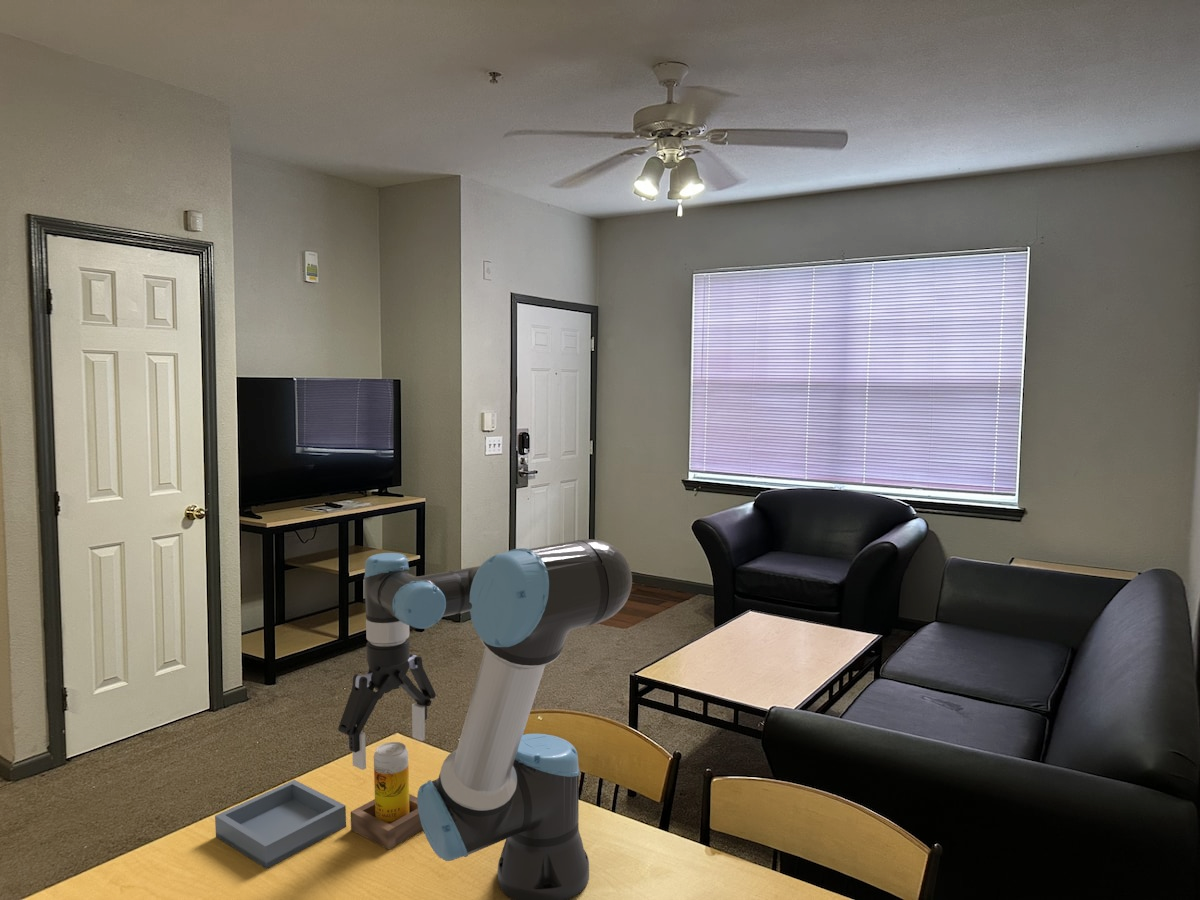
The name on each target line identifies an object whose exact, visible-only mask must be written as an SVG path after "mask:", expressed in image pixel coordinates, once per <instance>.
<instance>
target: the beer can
mask: <svg viewBox="0 0 1200 900" xmlns="http://www.w3.org/2000/svg"><path fill="white" fill-rule="evenodd" d="M373 771H374V772H373V773H374V774H373V778H374V799H375V817H376V818H378V819H380V820H382V821H384V822H386V823H388V824H391V823H393V822H394V821H396V820H398V819H400V818H402V817H403V816H405V815H407V814H409V794H410V779H409V778H410V776H409V771H410V770H409V751H408V749H407V746H406V744H405V743H402V742H399V741H389V742H385V743H382V744H380V745H378V746H377V747H376V749H375V752H374V755H373Z"/></svg>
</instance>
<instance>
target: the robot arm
mask: <svg viewBox="0 0 1200 900" xmlns="http://www.w3.org/2000/svg"><path fill="white" fill-rule="evenodd" d="M409 571H410V567H409V559H408V558H407V556H406V555H405V554H403V553H397V552H383V553H376V554H373V555H370V556H368V557H367V559H366V560H365V564H364V576H363V579H364V594H365V596H364V598H365V599H364V601H365V631H366V636H365V637H366V640H367V642H366V645H365V646H366V662H367V664H368V671H367V674H366V673H365V674H362V675H360V674H357V673H356V674H354V675H353V677H352V687H351V691H350V694H349V697H348V699H347V701H346V705H345V707H344V711H343V714H342V716H341V719H340V722H339V725H338V728H337V730H338V732H340V733H342V734H344V735H346V736H348V747H349V750H350V751H351V752H352V753H351V754H352V766H354V767H356V768H358V769H359V770H362V771H364V770H365V769H367V751H366V750H367V749H366V747H367V746H366V732H364V731H363V730H364V727H365V726H366V724H367V722H368V720H369V718H370V716H371V715H372V712H373V711H374V709H375V707H376V705H377V703H378V702H379V700H380V699H382V698H383V697H384V694H388V693H390V692H391V691H393V690H398V689H400V687H401V688H402V689H403V690H404V691H405V692H406V693H407V694H408V695H409V697H411V699H413V700H414V703H412V704H411V723H412V724H411V726H412V728H411V729H412V732H411V734H412V738H413V739H416V740H418V741H421V742H423V741H425V740H426V721H427V720H428V707H430V706H431V704H432V699H433V700H434V699H435V698H436V696H437V694H436V692H435V689H434V688H433V686H432V683H431V681H430V679H429V677H428V675H427V673H426V671H425V668H424V666H423V659H422V656H418V655H415V654H412V653H410V648H411V647H410V640H409V637H410V635H411V634H410V627H412V628H415V629H423V630H424V629H429V628H431V627H433V626H434V625H435V624H437V623H438V622H440V620H441V619H442V618H443V617H448V616H453V615H457V614H462V613H466V612H470V613H469V614H470V619H471V622H472V625H473V628H474V630H475V632H476V634H477V636H478V637H479V639H480V641H481V643H482V645H483V646H484V651H483V655H482V659H481V663H480V666H479V669H478V674H477V676H476V681H475V683H474V688H473V691H472V693H471V694H472V695H471V697H470V700H469V705H468V709H467V712H466V716H465V720H464V723H463V726H462V730H461V734H460V737H459V741H458V744H457V748H456V749H454V750H453V751H452V752H450V753H449V754H448V755H447V756H446V758H445V759H444V760H443V763H442V765H441V767H440V772H439V775H438V778H436V779H434V780H427V782H425V783H423V784H422V785H420V786H419V788H418V790H417V805H418V812H419V817H420V820H421V824H422V827H423V830H422V831H423V833H424V835H425V837H426V840H427V842H428V844H429V846H430V848H431V849H432V851H433V852H434V854H436V856H438V858H440V859H442V860H443V861H445V862H450V861H454V860H457V859H460V858H463V857H464V858H466V857H467V858H468V857H469V855H471V854H474V853H477V852H479V851H481V850H483V849H485V848H489V847H491V846H493V845H495V844H497V843H499V842H502V841H504V844H503V848H502V851H501V853H500V858H499V860H498V864H497V883H498V886H499V888H500V890H501V891H502V892H503V893H504V894H505V895H506V896H507V897H509V898H510V899H512V900H570V899H573V898H575V897H576V896H578V894H580V893H581V892H582V891H583V890H584V889H585V888H586V886H587V885H588V883H589V880H590V861H589V857H588V853H587V852H586V850H585V848H584V843H583V840H582V836H581V834H580V829H579V815H580V814H579V802H580V801H579V785H580V784H579V779H580V778H579V777H580V767H579V764H580V763H579V756H578V752H577V749H576V747H575V746H574V745H573V744H572V743H570V742H569V741H568V740H566V739H564V738H561V737H559V736H556V735H551V734H545V733H526V734H524V732H525V729H526V726H527V724H528V723H527V722H528V719H529V717H530V714H531V711H532V707H533V704H534V701H535V698H536V695H537V693H538V689H539V685H540V683H541V679H542V677H543V674H544V670H545V667H546V666H548V665H550V664H551V663H553V662H555V661H556V660H557V659H558V658H559V656H560V655H561V654H562V651H563V649H564V648H563V647H564V645H565V643H566V640H567V636H568V634H569V633H570V632H571V631H573V630H576V629H580V628H584V627H588V626H592V625H596V624H600V623H602V622H605V621H606V620H608V619H610V618H612V617H614V616H615V615H616V614H617V613H619V611H620V610H621V609H623V607H624V606H625V604H626V603H627V601H628V599H629V598H630V595H631V590H632V587H633V586H632V585H633V575H632V569H631V566H630V564H629V562H628V560H627V558H626V556H625V555H624V554H623V553H622V551H620V550H619V549H618V547H616V546H614V545H612V544H610V543H609V542H606V541H604V540H601V539H600V540H599V539H593V538H592V539H588V538H587V539H585V538H584V539H580V540H579V539H578V540H577V539H576V540H573V541H566V542H561V543H560V542H559V543H555V544H549V545H544V546H539V547H533V548H514V549H510V550H508V551H506V552H501V553H498V554H495V555H493V556H490V557H489V558H487V559H486V560H485V561H483V563H482V564H480V565H478V566H472V567H465V568H462V569H457V570H456V569H455V570H449V571H444V572H437V573H430V574H427V575H425V574H423V575H420V576H419V575H418V576H416V575H413V574H411V573H410V572H409ZM408 671H410V672H411V674H412V676H413V678H414V680H415V682H416V684H417V686H418V687H417V686H416V685H415V684H414V683H413V680H412V679H410V678H409V676H408V675H407V673H408ZM374 689H375V690H376V691H374Z"/></svg>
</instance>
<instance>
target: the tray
mask: <svg viewBox="0 0 1200 900" xmlns="http://www.w3.org/2000/svg"><path fill="white" fill-rule="evenodd" d="M346 808H347V806H346V805H345V804H343V803H341V802H340V801H338V800H335V799H334V798H331V797H329V796H328V795H325V794H323V793H322V792H320V791H318V790H316V789H313V788H312V787H310V786H307V785H305V784H303V783H301V782H299V781H298V780H295V779H293V780H291V781H288V782H286V783H284V784H282V785H280V786H278V787H275V788H273V789H271V790H269V791H267V792H264V793H262V794H260V795H258V796H255V797H252V798H251V799H249V800H246V801H245V802H242V803H240V804H238V805H236V806H233V807H232V808H229V809H226V810H225V811H222V812H220V813H218V814H216V815H214V823H215V824H214V825H215V837H216V838H217V839H218V840H220V841H222V842H223V843H225V844H226V845H228V847H229V846H230V848H232V849H235V851H237V852H239V853H241V854H242V855H244V856H246V857H247V858H248V859H250V860H252V862H255V863H256V864H258V865H259V866H261V867H263V868H264V869H266V870H268V869H269V868H271V867H273V866H274V865H277V864H278V863H280V862H282V861H284V860H286V859H288V858H290V857H291V856H293V855H296V854H297V853H299V852H301V851H303V850H304V849H306V848H308V847H310V846H312V845H314V844H316V843H318V842H319V841H322V840H323V839H325V838H327V837H329V836H331V835H332V834H334V833H337V832H338V831H340V830H342V829H343V828H345V827H347V812H346V811H347V809H346Z"/></svg>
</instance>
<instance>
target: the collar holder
mask: <svg viewBox="0 0 1200 900" xmlns="http://www.w3.org/2000/svg"><path fill="white" fill-rule="evenodd" d="M350 830H351V831H352V832H354V833H356V834H358V835H360V836H362V837H364V838H365V839H367V840H370V841H371V842H372V843H374V844H376V845H379V846H380V847H382V848H384V849H386V850H388V851H389V850H391V849H393V848H394V847H396V846H397V845H400V844H401V843H402V842H403V843H404V841H406V840H408V839H409V838H412V837H413V836H415V835H417V834H418V833H420V832H421V831H424V830H423V827H422V824H421V820H420V817H419V812H418V805H417V797H416V796H415V795H412V794H410V793H409V814H407V815H405V816H403V817H402V818H400V819H398V820H396V821H394V822H393V823H391V824H388V823H386V822H384V821H382V820H380V819H378V818H376V817H375V798H374V799H372V800H371V801H368V802H367V803H365V804H362V805H361V806H359V807H356V808H355V809H353V810H352V811H350Z"/></svg>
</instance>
